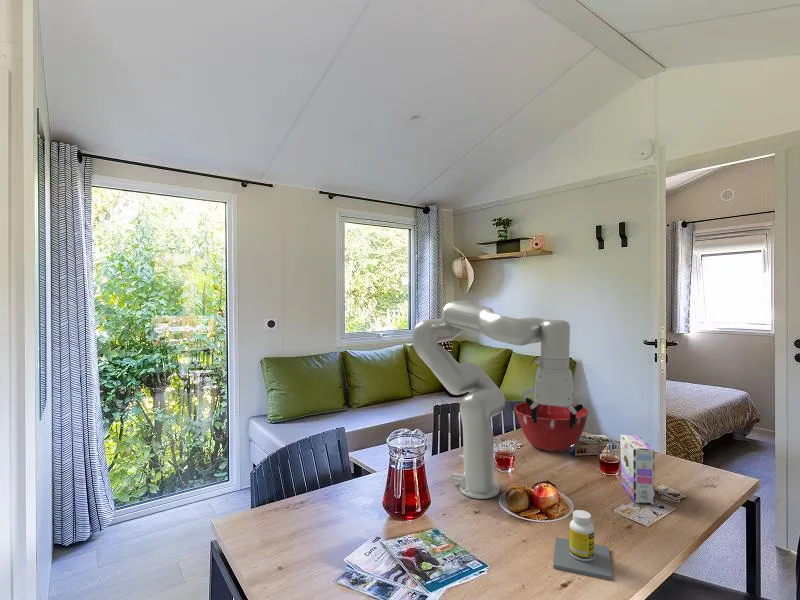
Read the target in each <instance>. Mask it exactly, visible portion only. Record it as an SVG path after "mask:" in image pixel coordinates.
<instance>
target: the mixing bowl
mask: <svg viewBox="0 0 800 600" xmlns="http://www.w3.org/2000/svg"><path fill="white" fill-rule="evenodd" d="M532 401H533V402H534V401H535V400H532ZM573 404H574V406H575V407H576V406H577V405H578V404H576V403H573ZM537 408H538V416H537V422H536V423H533V419H531V410H532V409H531V408H530V406H529V405H528V404H527V403H526V401H525V402H521V403H518V404H516V405H515V406H514V411H515V413H516V416H517V417H516V418H517V420H518V423H519V426H520V428H521V430H522V432H523V434H524V436H525V438H526V440H527V441H528V442H529V443H530V444H531V445H532V446H533V447H534V448H537V449H538V450H541V451H545V452H548V453H549V452H550V453H562V452H567V451H569V450H570V449H571V448H570V446H571V445H573V444H575V445H576V444H578V442H579V439H580V437H581V436H582V435H583V431H584V430H585V429H584V428H585V426H586V422H587V418H588V415H589V410H588V409H587V408H586V407H585V406H584V407H583V408H582V409H581V410H580V411H579V412H577V413H576V424H575V425H573V428H570V412H571V411H570V410H569V408H568V407H558V406H550V405H542V404H538V405H537ZM569 448H570V449H569ZM566 450H567V451H566Z"/></svg>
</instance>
